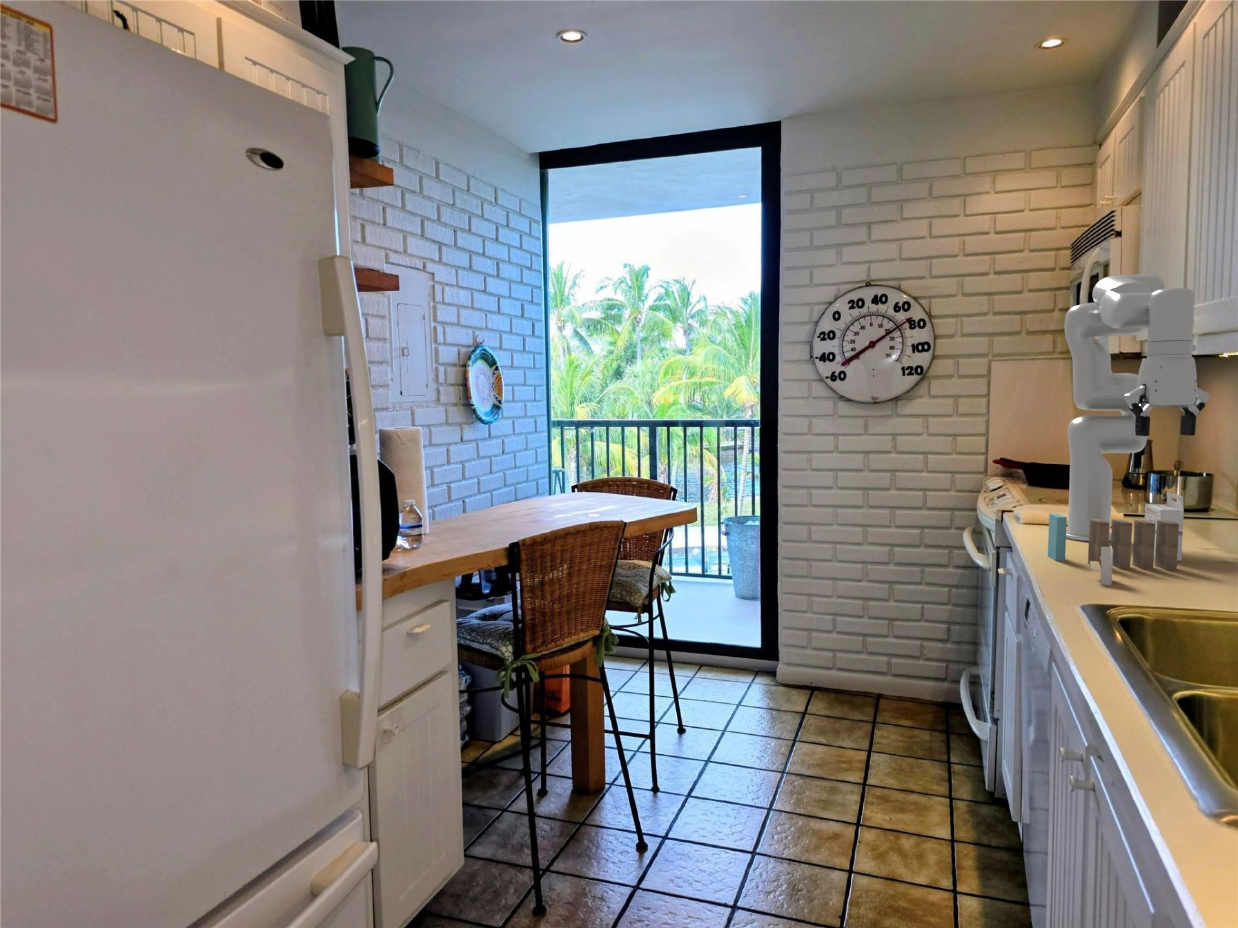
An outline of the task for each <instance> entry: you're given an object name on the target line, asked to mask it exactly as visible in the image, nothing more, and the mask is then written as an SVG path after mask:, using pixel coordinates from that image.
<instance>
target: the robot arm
mask: <svg viewBox="0 0 1238 928" xmlns="http://www.w3.org/2000/svg"><path fill="white" fill-rule="evenodd" d="M1195 297H1196V296H1195V292H1194V290H1193V289H1190V288H1186V287H1174V288H1173V287H1172V288H1171V287H1170V288H1169V287H1168V288H1166V286H1165V282H1164V280H1163V279H1162V278H1161V277H1160V276H1158V275H1157V274H1152V273H1141V274H1140V273H1139V274H1116V275H1115V274H1114V275H1110V276H1106V277H1103V278H1102V279H1100V280H1099V281H1098V282H1097V283H1096V284H1095V285H1094V287H1093V289H1092V299H1093V302H1086V303H1081V304H1078V305H1074V306H1073V307H1070V309H1068V311H1067V312H1066V314H1065V319H1064V336H1065V341H1066V344H1067V346H1068V348H1069V351H1070V354H1071V358H1072V359H1071V360H1072V389H1073V390H1072V391H1073V393H1072V394H1073V402H1074V404H1075V406H1076V408H1078V409H1080V410H1083V411H1095V412H1096V411H1103V412H1104V411H1107V412H1108V411H1109V412H1110V411H1112V412H1113V411H1116V412H1117V411H1118V412H1120V413H1121V415H1104V414H1103V415H1102V414H1101V415H1100V414H1099V415H1082V416H1081V415H1080V416H1078V417H1076V418H1073V419H1072V420H1071V421H1070V422H1069V424H1068V426H1067V442H1068V449H1069V485H1068V487H1069V488H1068V489H1069V490H1068V491H1069V492H1068V512H1067V513H1068V514H1067V529H1066V539H1069V540H1075V541H1083V542H1089V525H1090V519H1101V520H1103V521H1106V522H1108V523H1109V539H1108V542H1111V533H1112V532H1111V522H1112V520H1111V518H1112V517H1111V516H1112V498H1113V495H1112V494H1113V479H1114V478H1113V469H1112V467H1111V465H1110V463H1109V462H1108V461H1107V460H1106V458H1105V457H1104V456H1103V454H1133V453H1134V454H1136V453H1139V452H1141V451H1142V450H1143V449H1144V448H1145V447H1146V445H1147V441H1148V437H1149V436H1150V430H1151V427H1150V426H1151V416H1149V413H1150V412H1151V411H1152V410H1153V408H1164V407H1165V408H1179V410H1181V412H1182V413H1183V415H1181V416H1180V431H1179V433H1180V435H1181V436H1195V434H1196V430H1197V429H1196V428H1197V427H1196V426H1197V417H1198V416H1200V414H1201V411H1202V410H1203V409H1204V408H1206V404H1207V402H1208V400H1209V399H1210V397H1211V396H1210V394H1209V393H1208V392H1207V391H1205V390H1203V389H1201V388H1200V387H1198V381H1197V380H1198V379H1197V377H1198V376H1197V367H1196V366H1197V365H1196V360H1195V358H1194V357H1193V356H1192V355H1193V352H1196V350H1197V345H1195V344H1193V338H1194V337H1193V336H1194V334H1193V333H1194V319H1195V305H1196V304H1195V303H1196V301H1195V300H1196V299H1195ZM1145 329H1146V330H1147V345H1146V346H1147V347H1146V358H1142V359H1141V363H1140V367H1139V370H1138V373H1137V374H1135V373H1131V372H1130V373H1129V372H1124V373H1123V372H1121V373H1118V372H1117V373H1115V372H1113V371H1112V365H1111V364H1112V357H1111V353H1110V351H1109V350H1108V348H1107V347H1106V346H1105V345H1104V344H1103V343H1102V342H1101V341H1100V340H1099V339H1098V338H1096V337H1131V336H1137V335H1139V334H1141V333H1143V332H1144V331H1145Z"/></svg>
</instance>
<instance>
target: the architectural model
mask: <svg viewBox="0 0 1238 928" xmlns="http://www.w3.org/2000/svg"><path fill="white" fill-rule="evenodd" d="M1099 557H1100V556H1099ZM1090 563H1091V565H1090V566H1091V570H1096V571H1100V585H1103V586H1112V583H1113V582H1112V581H1113V549H1112V546H1111V545H1109V546H1108V547H1101V558H1100V560H1099V562H1097V561H1091V562H1090Z"/></svg>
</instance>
